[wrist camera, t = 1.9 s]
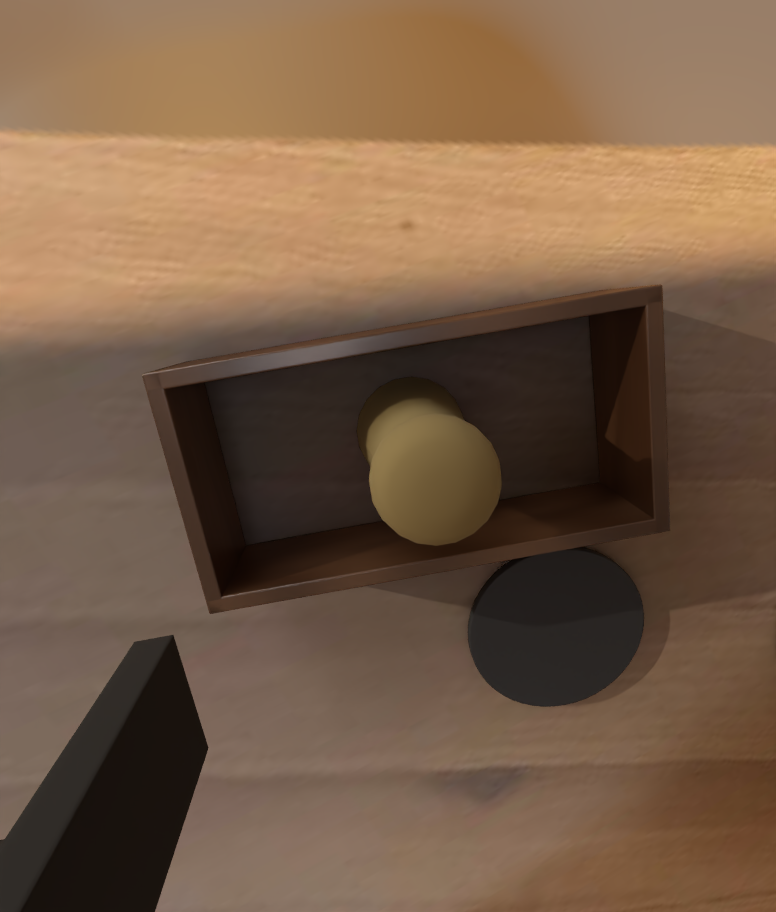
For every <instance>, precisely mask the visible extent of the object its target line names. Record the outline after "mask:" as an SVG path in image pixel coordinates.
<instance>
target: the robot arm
mask: <svg viewBox="0 0 776 912" xmlns="http://www.w3.org/2000/svg"><path fill="white" fill-rule="evenodd" d="M207 751H208V745H207V742H206V739H205V736H204V732H203V729H202V726H201V723H200V719H199V716H198V713H197V710H196V707H195V703H194V700H193V697H192V694H191V691H190V687H189V684H188V681H187V678H186V674H185V671H184V668H183V665H182V662H181V658H180V655H179V652H178V649H177V646H176V642H175V639H174V636H173V635H170V636H164V637H159V638H154V639H148V640H143V641H137V642H134V644H133V645H132V647H131V648H130V650H129V651H128V653H127V654H126V656H125V657H124V659H123V660H122V662H121V663H120V665H119V666H118V668H117V669H116V671H115V673H114V674H113V676H112V677H111V679H110V680H109V682H108V683H107V685H106V686H105V688H104V689H103V691H102V692H101V694H100V695H99V697H98V698H97V700H96V701H95V703H94V704H93V706H92V707H91V709H90V711H89V712H88V714H87V715H86V717H85V718H84V720H83V721H82V723H81V724H80V726H79V727H78V729H77V730H76V732H75V733H74V735H73V736H72V738H71V739H70V741H69V742H68V744H67V746H66V747H65V749H64V750H63V752H62V753H61V755H60V756H59V758H58V759H57V761H56V762H55V764H54V765H53V767H52V768H51V770H50V771H49V773H48V774H47V776H46V777H45V779H44V780H43V782H42V784H41V785H40V787H39V788H38V790H37V791H36V793H35V794H34V796H33V797H32V799H31V800H30V802H29V803H28V805H27V806H26V808H25V809H24V811H23V812H22V814H21V815H20V817H19V818H18V820H17V822H16V823H15V825H14V826H13V828H12V829H11V831H10V832H9V834H8V835H7V837H6V838H5V839H4V840H0V912H155V909H156V906H157V903H158V900H159V897H160V894H161V891H162V888H163V885H164V882H165V879H166V876H167V873H168V870H169V867H170V864H171V861H172V858H173V855H174V851H175V848H176V845H177V842H178V839H179V836H180V833H181V830H182V827H183V824H184V821H185V818H186V815H187V812H188V809H189V806H190V803H191V800H192V797H193V794H194V790H195V787H196V784H197V781H198V778H199V775H200V772H201V769H202V766H203V763H204V760H205V757H206V754H207Z"/></svg>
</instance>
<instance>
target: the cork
mask: <svg viewBox="0 0 776 912" xmlns="http://www.w3.org/2000/svg"><path fill="white" fill-rule="evenodd" d="M357 436H358V442H359V448H360V450H361V451H362V453H363V455H364V457H365V459H366V461H367V462H368V464H369V465H370V467H371V469H370V475H369V484H370V490H371V496H372V502H373V504H374V506H375V507H376V509H377V511H378V513H379V515H380V517H381V518H382V520H383V521H384V522H386V523H387V524H388V525H389V526H390V527H391V528H392V529H393V530H394V531H395V532H396V533H397V534H399V535H400V536H402V537H404V538H406V539H409V540H411V541H413V542H415V543H418V544H426V545H434V546H438V545H444V544H450V543H456V542H458V541H460V540H462V539H464V538H466V537H468V536H470V535H472V534H474V533H475V532H476V531H477V530H478V529H479V528H480V527H481V526H482V525H483V524H485V523H486V522H487V521H488V519H489V518H490V516H491V514H492V512H493V511H494V509H495V507H496V506H497V504H498V500H499V495H500V491H501V486H502V481H501V471H500V462H499V459H498V457H497V455H496V452H495V450H494V448H493V446H492V444H491V442H490V441H489V440H488V439H487V438H486V437H485V436H484V435H483V434H482V433H481V432H480V431H479V430H478V429H477V428H476V427H475V426H474V425H472V424H470V423H468V422H466V421H464V418H463V415H462V413H461V411H460V408H459V406H458V404H457V402H456V400H455V399H454V398H453V396H452V395H451V394H450V393H449V392H448V391H447V390H446V389H445V388H444V387H442V386H440V385H438V384H436V383H435V382H433V381H431V380H429V379H423V378H417V377H406V378H400V379H394V380H392V381H390V382H389V383H387V384H385V385H383V386H381V387H379V388H378V389H377V390H376V391H375V392H374V393H373V394H372V395H371V396H370V397H369V398H368V399H367V400H366V402H365V404H364V406H363V408H362V410H361V412H360V414H359V419H358V426H357Z"/></svg>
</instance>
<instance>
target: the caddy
mask: <svg viewBox="0 0 776 912" xmlns="http://www.w3.org/2000/svg"><path fill="white" fill-rule="evenodd" d="M585 316H589V321H590V336H591V351H592V366H593V381H594V396H595V411H596V426H597V442H598V457H599V472H600V483H594V484H589V485H583V486H577V487H572V488H566V489H561V490H555V491H550V492H544V493H538V494H533V495H527V496H522V497H516V498H510V499H505V500H499V501H498V504H497V506H496V507H495V509H494V511H493V512H492V514H491V516H490V518H489V519H488V521H487V522H486V523H485V524H483V525H482V526H481V527H480V528H479V529H478V530H477V531H476V532H475V533H474V534H472V535H470V536H468V537H466V538H464V539H462V540H460V541H458V542H456V543H450V544H444V545H438V546H434V545H426V544H418V543H415V542H413V541H411V540H409V539H406V538H404V537H402V536H400V535H399V534H397V533H396V532H395V531H394V530H393V529H392V528H391V527H390V526H389V525H388V524H387V523H386V522H384V521H382V522H376V523H371V524H365V525H359V526H354V527H348V528H343V529H337V530H331V531H326V532H320V533H315V534H309V535H303V536H298V537H292V538H287V539H281V540H275V541H270V542H264V543H259V544H253V545H247V546H246V545H245V541H244V537H243V533H242V529H241V525H240V522H239V518H238V514H237V510H236V506H235V502H234V498H233V494H232V490H231V486H230V482H229V478H228V474H227V471H226V467H225V463H224V459H223V455H222V451H221V447H220V443H219V439H218V435H217V431H216V427H215V423H214V419H213V416H212V412H211V408H210V404H209V400H208V396H207V392H206V388H205V384H204V382H210V381H216V380H222V379H228V378H233V377H239V376H245V375H251V374H256V373H262V372H268V371H274V370H279V369H285V368H291V367H297V366H303V365H308V364H314V363H320V362H326V361H331V360H337V359H343V358H349V357H355V356H360V355H366V354H372V353H378V352H383V351H389V350H395V349H401V348H406V347H412V346H418V345H424V344H430V343H435V342H441V341H447V340H453V339H458V338H464V337H470V336H476V335H482V334H487V333H493V332H499V331H505V330H510V329H516V328H522V327H528V326H533V325H539V324H545V323H551V322H557V321H562V320H568V319H574V318H580V317H585ZM142 377H143V381H144V384H145V388H146V391H147V395H148V398H149V402H150V405H151V409H152V412H153V416H154V419H155V423H156V426H157V430H158V433H159V437H160V441H161V444H162V448H163V451H164V455H165V458H166V462H167V465H168V469H169V472H170V476H171V479H172V483H173V486H174V490H175V493H176V497H177V500H178V504H179V507H180V511H181V515H182V518H183V522H184V525H185V529H186V532H187V536H188V539H189V543H190V546H191V550H192V553H193V557H194V560H195V564H196V567H197V571H198V574H199V578H200V581H201V585H202V589H203V592H204V596H205V599H206V603H207V606H208V610H209V613H210V614H213V613H218V612H224V611H229V610H235V609H240V608H246V607H251V606H257V605H262V604H268V603H273V602H279V601H284V600H290V599H295V598H301V597H306V596H312V595H318V594H323V593H329V592H334V591H340V590H345V589H351V588H356V587H362V586H367V585H373V584H378V583H384V582H389V581H395V580H401V579H406V578H412V577H417V576H423V575H428V574H434V573H439V572H445V571H450V570H456V569H461V568H467V567H472V566H478V565H484V564H489V563H495V562H500V561H506V560H511V559H517V558H522V557H528V556H533V555H539V554H544V553H550V552H555V551H561V550H566V549H572V548H578V547H583V546H589V545H594V544H600V543H605V542H611V541H616V540H622V539H627V538H633V537H638V536H644V535H649V534H655V533H661V532H666V531H670V514H669V482H668V451H667V419H666V387H665V356H664V324H663V292H662V285H650V286H639V287H629V288H619V289H609V290H599V291H594V292H588V293H582V294H576V295H570V296H565V297H559V298H553V299H547V300H541V301H536V302H530V303H524V304H518V305H512V306H507V307H501V308H495V309H489V310H483V311H478V312H472V313H466V314H460V315H454V316H449V317H443V318H437V319H431V320H425V321H420V322H414V323H408V324H402V325H397V326H391V327H385V328H379V329H373V330H368V331H362V332H356V333H350V334H344V335H339V336H333V337H327V338H321V339H315V340H310V341H304V342H298V343H292V344H286V345H281V346H275V347H269V348H263V349H257V350H252V351H246V352H240V353H234V354H228V355H223V356H217V357H211V358H205V359H199V360H194V361H188V362H183V363H180V364H176V365H172V366H169V367H165V368H162V369H158V370H155V371H151V372H148V373H144V374H142Z"/></svg>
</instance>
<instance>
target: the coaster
mask: <svg viewBox="0 0 776 912" xmlns="http://www.w3.org/2000/svg"><path fill="white" fill-rule="evenodd" d="M643 626H644V613H643V605H642V601H641V598H640V594H639V592H638V590H637V588H636V586H635V584H634V583H633V581H632V580H631V578H630V577H629V576H628V575H627V573H626V572H625V571H624V570H623V569H622V568H621V567H620V566H618V565H617V564H616V563H615V562H614V561H612V560H611V559H609V558H608V557H606V556H604V555H603V554H600V553H598V552H596V551H593V550H590V549H586V548H582V547H578V548H572V549H566V550H561V551H555V552H550V553H544V554H539V555H533V556H528V557H522V558H517V559H513V560H512V561H510V562H509V563H507V564H506V565H504V566H503V567H502V568H501V569H499V570H498V571H497V572H496V573H495V574H494V575H493V576H492V577H491V578H490V579H489V580H488V581H487V582H486V584H485V585H484V587H483V588H482V589H481V591H480V593H479V594H478V596H477V598H476V600H475V602H474V605H473V607H472V610H471V614H470V618H469V624H468V642H469V647H470V651H471V654H472V657H473V660H474V662H475V665H476V667H477V669H478V670H479V672H480V674H481V675H482V677H483V678H484V679H485V680H486V682H487V683H488V684H489V685H491V686H492V687H493V688H494V689H495V690H496V691H498V692H499V693H501V694H502V695H504V696H506V697H508V698H510V699H512V700H514V701H517V702H520V703H523V704H528V705H533V706H560V705H566V704H570V703H574V702H577V701H580V700H583V699H586V698H588V697H590V696H592V695H594V694H596V693H598V692H599V691H601V690H602V689H604V688H605V687H607V686H608V685H609V684H610V683H612V682H613V681H614V680H615V679H616V678H617V677H618V676H619V675H620V674H621V673H622V672H623V671H624V670H625V668H626V667H627V666H628V665H629V663H630V661H631V660H632V658H633V657H634V655H635V653H636V651H637V648H638V646H639V643H640V640H641V637H642V632H643Z"/></svg>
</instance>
